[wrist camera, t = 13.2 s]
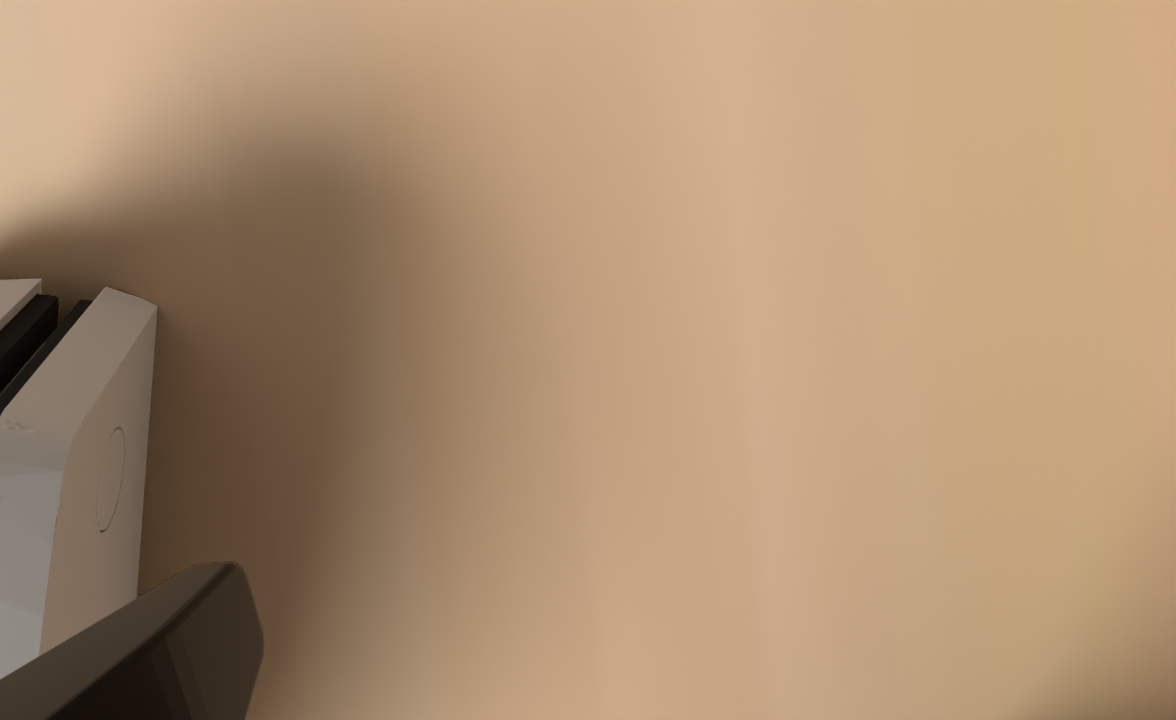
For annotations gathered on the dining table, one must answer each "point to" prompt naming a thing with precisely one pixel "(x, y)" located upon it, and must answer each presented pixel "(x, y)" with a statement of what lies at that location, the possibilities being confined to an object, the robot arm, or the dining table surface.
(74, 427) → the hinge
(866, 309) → the dining table surface
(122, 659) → the robot arm
